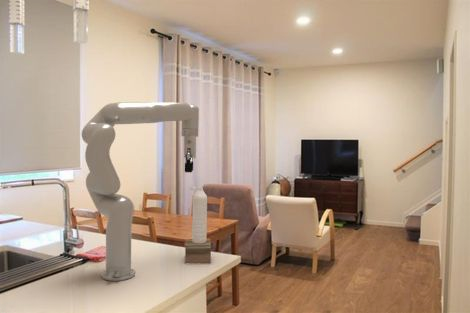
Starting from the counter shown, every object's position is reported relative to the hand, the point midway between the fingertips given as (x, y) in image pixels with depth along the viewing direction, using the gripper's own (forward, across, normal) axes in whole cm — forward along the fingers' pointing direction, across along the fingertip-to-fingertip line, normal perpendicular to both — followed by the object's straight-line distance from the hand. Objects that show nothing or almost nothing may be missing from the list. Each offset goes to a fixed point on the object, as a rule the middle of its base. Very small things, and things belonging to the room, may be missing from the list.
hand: (189, 171), depth 172 cm
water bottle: (+32, -2, -5) cm, 32 cm away
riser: (+40, -2, -5) cm, 40 cm away
